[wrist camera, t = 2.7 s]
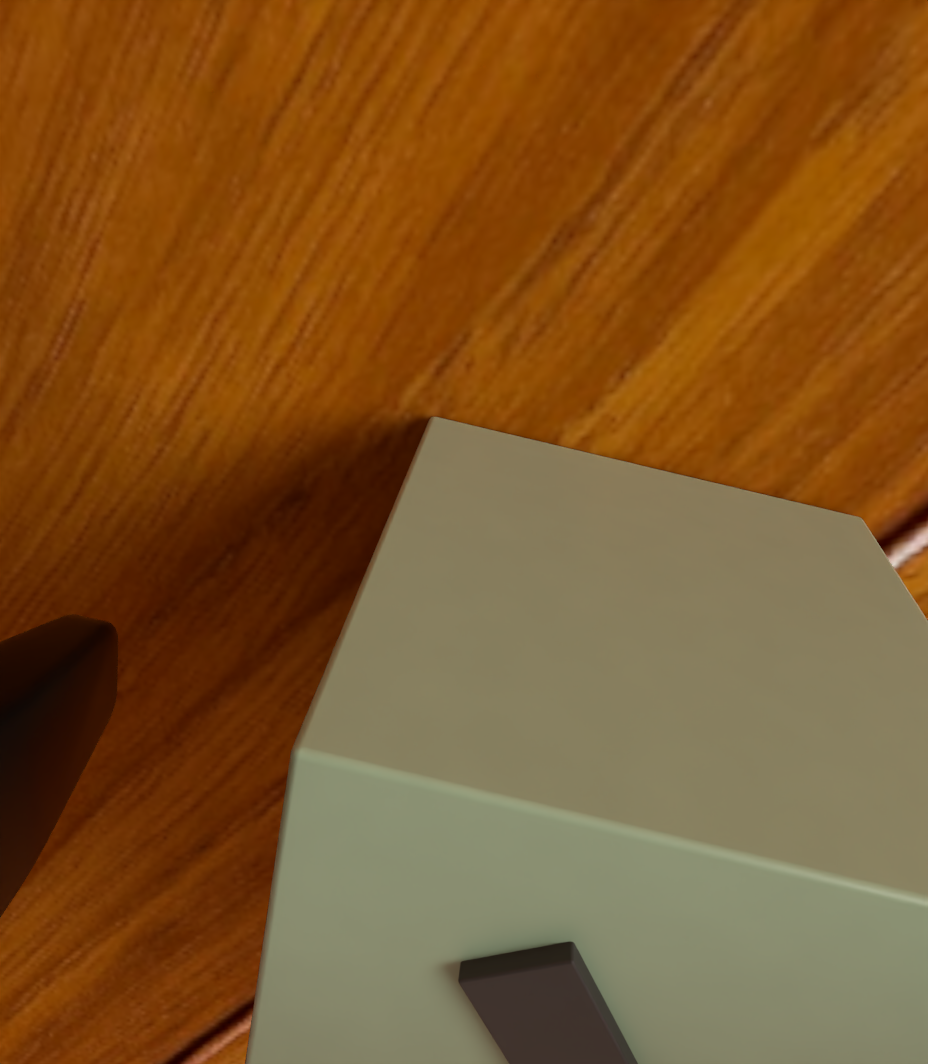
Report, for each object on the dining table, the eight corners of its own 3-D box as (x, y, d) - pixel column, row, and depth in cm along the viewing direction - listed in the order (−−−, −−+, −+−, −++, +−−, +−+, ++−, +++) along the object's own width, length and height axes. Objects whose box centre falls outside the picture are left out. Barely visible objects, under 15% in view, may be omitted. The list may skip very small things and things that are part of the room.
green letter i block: (365, 742, 11) (219, 1209, 7) (430, 413, 9) (281, 768, 4) (713, 825, 11) (809, 1350, 6) (864, 516, 9) (1163, 977, 4)
